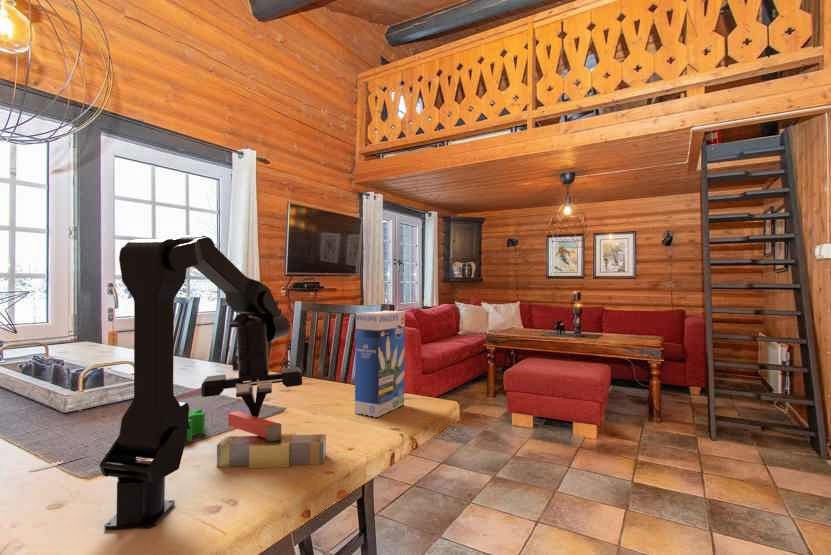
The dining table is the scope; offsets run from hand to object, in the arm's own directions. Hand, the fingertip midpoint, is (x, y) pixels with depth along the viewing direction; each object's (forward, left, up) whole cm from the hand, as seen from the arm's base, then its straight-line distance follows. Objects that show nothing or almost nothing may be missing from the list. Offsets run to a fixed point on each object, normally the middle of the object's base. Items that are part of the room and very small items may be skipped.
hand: (255, 422), depth 87 cm
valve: (-7, -5, -5) cm, 10 cm away
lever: (-4, -1, 0) cm, 4 cm away
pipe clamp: (+6, +16, -5) cm, 18 cm away
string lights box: (+24, -25, -5) cm, 35 cm away
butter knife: (+1, +27, -5) cm, 28 cm away
